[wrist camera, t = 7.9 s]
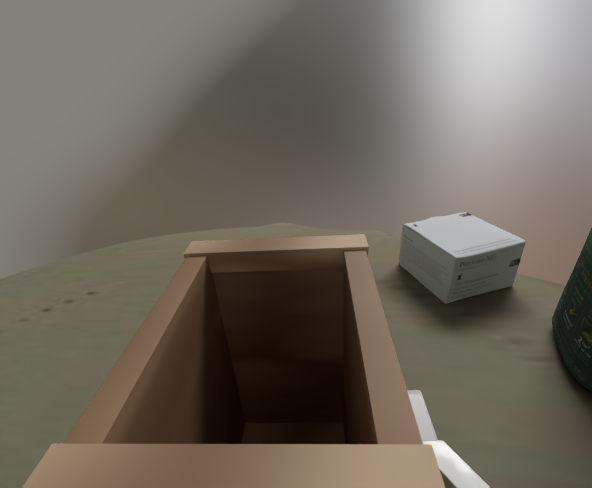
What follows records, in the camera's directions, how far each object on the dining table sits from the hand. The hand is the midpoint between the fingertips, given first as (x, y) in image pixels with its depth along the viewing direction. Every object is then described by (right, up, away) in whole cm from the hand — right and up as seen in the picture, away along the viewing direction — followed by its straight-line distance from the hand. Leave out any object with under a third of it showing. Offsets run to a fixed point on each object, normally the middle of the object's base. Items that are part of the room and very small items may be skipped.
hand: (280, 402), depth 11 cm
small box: (+17, +2, +23) cm, 28 cm away
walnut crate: (0, -5, +2) cm, 6 cm away
